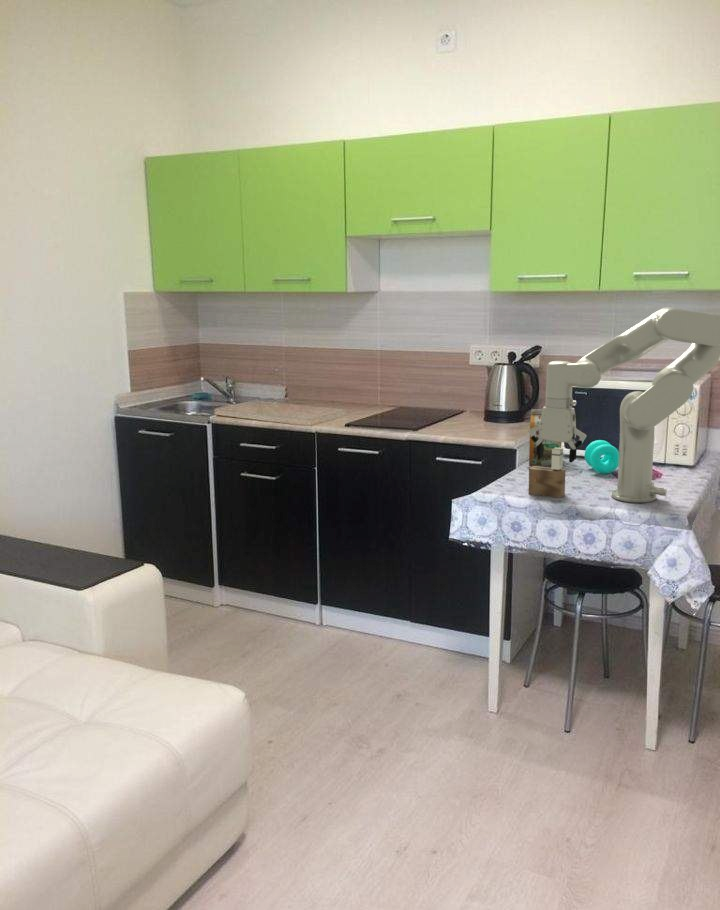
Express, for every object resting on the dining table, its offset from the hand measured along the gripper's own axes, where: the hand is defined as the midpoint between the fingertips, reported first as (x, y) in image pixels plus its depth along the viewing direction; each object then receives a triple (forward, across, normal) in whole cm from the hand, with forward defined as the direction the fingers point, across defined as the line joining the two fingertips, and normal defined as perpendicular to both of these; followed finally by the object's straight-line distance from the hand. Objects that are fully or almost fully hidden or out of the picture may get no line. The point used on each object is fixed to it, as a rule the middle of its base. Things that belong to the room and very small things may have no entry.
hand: (555, 459), depth 239 cm
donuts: (+11, -4, -36) cm, 38 cm away
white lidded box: (+3, 0, 0) cm, 3 cm away
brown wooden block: (+11, +2, 0) cm, 11 cm away
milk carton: (+11, +16, -40) cm, 45 cm away
